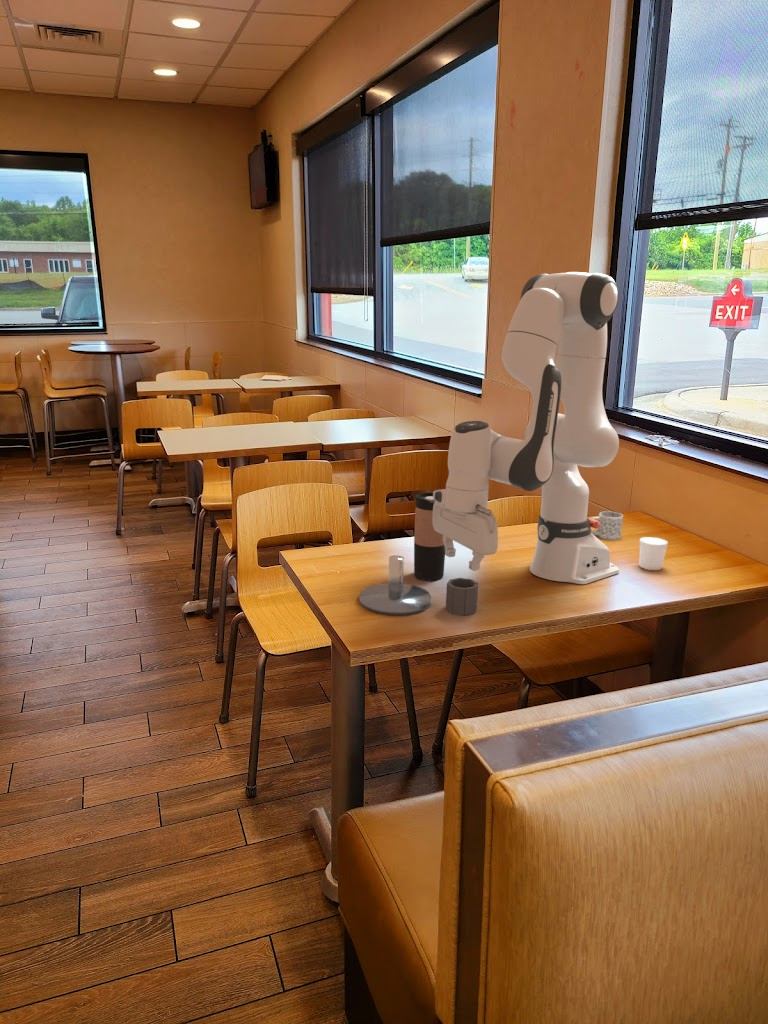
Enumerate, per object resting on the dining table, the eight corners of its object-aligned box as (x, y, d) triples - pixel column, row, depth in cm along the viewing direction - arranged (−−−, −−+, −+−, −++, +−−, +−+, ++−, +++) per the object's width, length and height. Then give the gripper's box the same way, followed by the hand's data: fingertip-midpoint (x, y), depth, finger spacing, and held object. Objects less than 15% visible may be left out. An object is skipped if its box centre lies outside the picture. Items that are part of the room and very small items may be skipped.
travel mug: (425, 568, 189) (428, 490, 184) (450, 575, 185) (454, 496, 179) (406, 576, 184) (409, 496, 178) (432, 583, 179) (435, 502, 174)
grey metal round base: (409, 584, 179) (410, 542, 176) (444, 608, 165) (446, 564, 162) (347, 594, 172) (348, 551, 169) (379, 620, 158) (380, 574, 155)
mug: (615, 533, 222) (618, 511, 221) (624, 540, 216) (626, 517, 214) (582, 533, 222) (584, 511, 220) (590, 540, 215) (592, 517, 214)
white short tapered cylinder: (655, 572, 190) (658, 546, 188) (631, 565, 195) (634, 539, 193) (669, 567, 194) (673, 541, 192) (646, 560, 199) (649, 534, 197)
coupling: (465, 601, 169) (467, 576, 167) (481, 612, 163) (483, 586, 162) (441, 606, 166) (442, 580, 164) (456, 617, 160) (458, 590, 159)
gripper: (508, 510, 150) (502, 576, 154) (453, 488, 168) (449, 547, 171) (481, 513, 147) (476, 580, 151) (429, 490, 165) (425, 550, 168)
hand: (461, 562), depth 161 cm, fingers open, 8 cm apart
